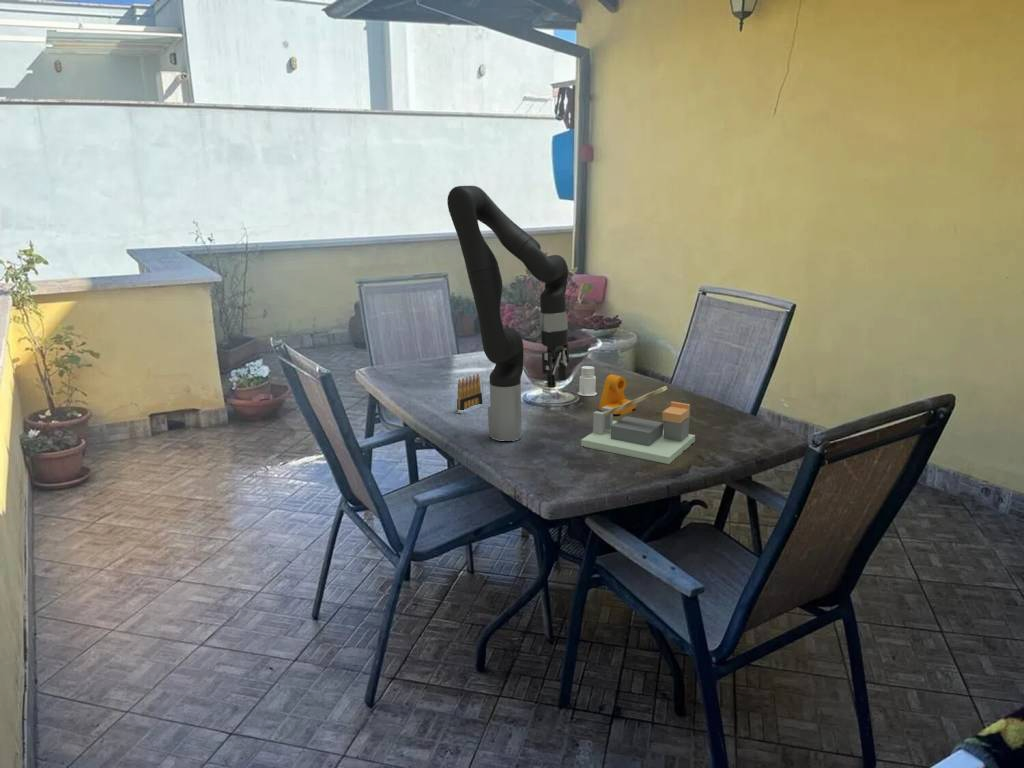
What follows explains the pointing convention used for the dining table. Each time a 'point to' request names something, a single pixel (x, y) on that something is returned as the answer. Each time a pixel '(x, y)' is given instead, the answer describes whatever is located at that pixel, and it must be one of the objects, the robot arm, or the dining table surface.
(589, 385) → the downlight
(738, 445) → the dining table surface
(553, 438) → the dining table surface
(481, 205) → the robot arm
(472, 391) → the ammunition clip
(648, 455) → the board
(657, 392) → the strap
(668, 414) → the block
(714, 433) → the dining table surface
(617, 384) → the bracket
